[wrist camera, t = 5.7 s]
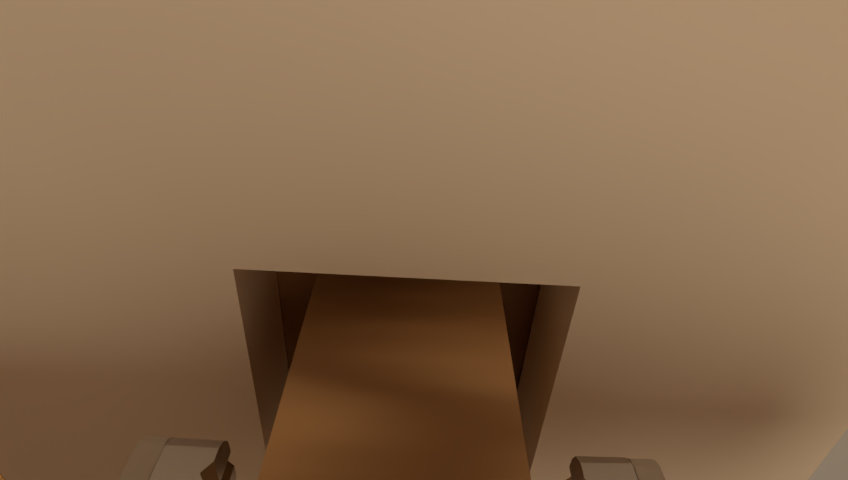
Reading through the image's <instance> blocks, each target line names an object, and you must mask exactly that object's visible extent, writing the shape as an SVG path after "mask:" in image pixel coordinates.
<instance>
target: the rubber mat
mask: <svg viewBox="0 0 848 480" xmlns="http://www.w3.org/2000/svg"><path fill="white" fill-rule="evenodd" d="M808 480H848V428H847V430H846V431H845V432H844V434H843V435H842V436H841V437H840V439H839V440H838V441H837V443H836V444H835V445H834V447H833V448H832V449H831V451H830V452H829V453H828V454H827V456H826V457H825V458H824V460H823V461H822V462H821V464H820V465H819V466H818V467H817V469H816V470H815V471H814V473H813V474H812V475H811V477H810V478H809V479H808Z"/></svg>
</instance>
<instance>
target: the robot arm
mask: <svg viewBox="0 0 848 480" xmlns="http://www.w3.org/2000/svg"><path fill="white" fill-rule="evenodd" d="M230 453H231V450H230V446H229V443H228V441H226V440H208V439H190V438H174V437H157V436H144V437H143V438H142V439H141V440H140V441H139V442H138V443H137V444H136V446H135V448H134V450H133V452H132V454H131V455H130V457H129V459H128V461H127V463H126V465H125V467H124V469H123V471H122V473H121V475H120V477H119V478H118V480H236V471H235V466H234V465H233V464H232V463H230V462H229V461H228V459H229V456H230ZM569 468H570V473H571V477H569V478H568V479H566V480H665V478H664V475H663V472H662V470H661V467H660V465H659V464H658V463H657V462H656V461H655V460H653V459H633V458H626V457H593V456H575V457H574V458H572V460H571V463H570V466H569Z"/></svg>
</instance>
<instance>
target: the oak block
mask: <svg viewBox="0 0 848 480" xmlns="http://www.w3.org/2000/svg"><path fill="white" fill-rule="evenodd" d="M258 480H531V477H530V471H529V464H528V458H527V452H526V446H525V439H524V433H523V427H522V421H521V414H520V408H519V402H518V395H517V389H516V383H515V377H514V370H513V364H512V358H511V352H510V345H509V339H508V333H507V327H506V320H505V314H504V308H503V301H502V295H501V289H500V283H499V282H482V281H462V280H442V279H422V278H402V277H382V276H363V275H343V274H323V273H317V276H316V279H315V283H314V286H313V290H312V293H311V296H310V300H309V303H308V307H307V310H306V314H305V317H304V321H303V324H302V328H301V331H300V335H299V338H298V342H297V345H296V348H295V352H294V355H293V359H292V362H291V366H290V369H289V373H288V376H287V380H286V383H285V387H284V390H283V394H282V397H281V400H280V404H279V407H278V411H277V414H276V418H275V421H274V425H273V428H272V432H271V435H270V439H269V442H268V446H267V449H266V452H265V456H264V459H263V463H262V466H261V470H260V473H259V477H258Z"/></svg>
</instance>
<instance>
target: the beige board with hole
mask: <svg viewBox="0 0 848 480" xmlns="http://www.w3.org/2000/svg"><path fill="white" fill-rule="evenodd" d="M276 271H283V272H303V273H323V274H343V275H363V276H382V277H402V278H422V279H442V280H462V281H482V282H501V283H521V284H541V285H540V290H539V294H538V299H537V303H536V308H535V313H534V317H533V322H532V326H531V331H530V335H529V340H528V344H527V349H526V354H525V358H524V363H523V367H522V372H521V376H520V381H519V385H518V390H517V395H518V402H519V408H520V414H521V421H522V427H523V433H524V439H525V446H526V452H527V458H528V464H529V471H530V477H531V480H566V479H568V478H569V477H571V473H570V468H569V466H570V463H571V460H572V458H574V457H575V456H593V457H626V458H633V459H653V460H655V461H656V462H657V463H658V464H659V465H660V467H661V470H662V472H663V475H664V478H665V480H808V479H809V478H810V477H811V475H812V474H813V473H814V471H815V470H816V469H817V467H818V466H819V465H820V464H821V462H822V461H823V460H824V458H825V457H826V456H827V454H828V453H829V452H830V451H831V449H832V448H833V447H834V445H835V444H836V443H837V441H838V440H839V439H840V437H841V436H842V435H843V434H844V432H845V431H846V430H847V428H848V0H0V474H1V475H2V477H3V479H4V480H118V478H119V477H120V475H121V473H122V471H123V469H124V467H125V465H126V463H127V461H128V459H129V457H130V455H131V454H132V452H133V450H134V448H135V446H136V444H137V443H138V442H139V441H140V440H141V439H142V438H143V437H144V436H157V437H174V438H190V439H208V440H226V441H228V443H229V446H230V450H231V453H230V456H229V459H228V461H229V462H230V463H232V464H233V465H234V466H235V471H236V480H258V477H259V473H260V470H261V466H262V463H263V459H264V456H265V452H266V449H267V446H268V442H269V439H270V435H271V432H272V428H273V425H274V421H275V418H276V414H277V411H278V407H279V404H280V400H281V397H282V394H283V390H284V387H285V383H286V380H287V376H288V373H289V370H288V362H287V354H286V346H285V338H284V330H283V322H282V314H281V306H280V298H279V290H278V282H277V274H276Z"/></svg>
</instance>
